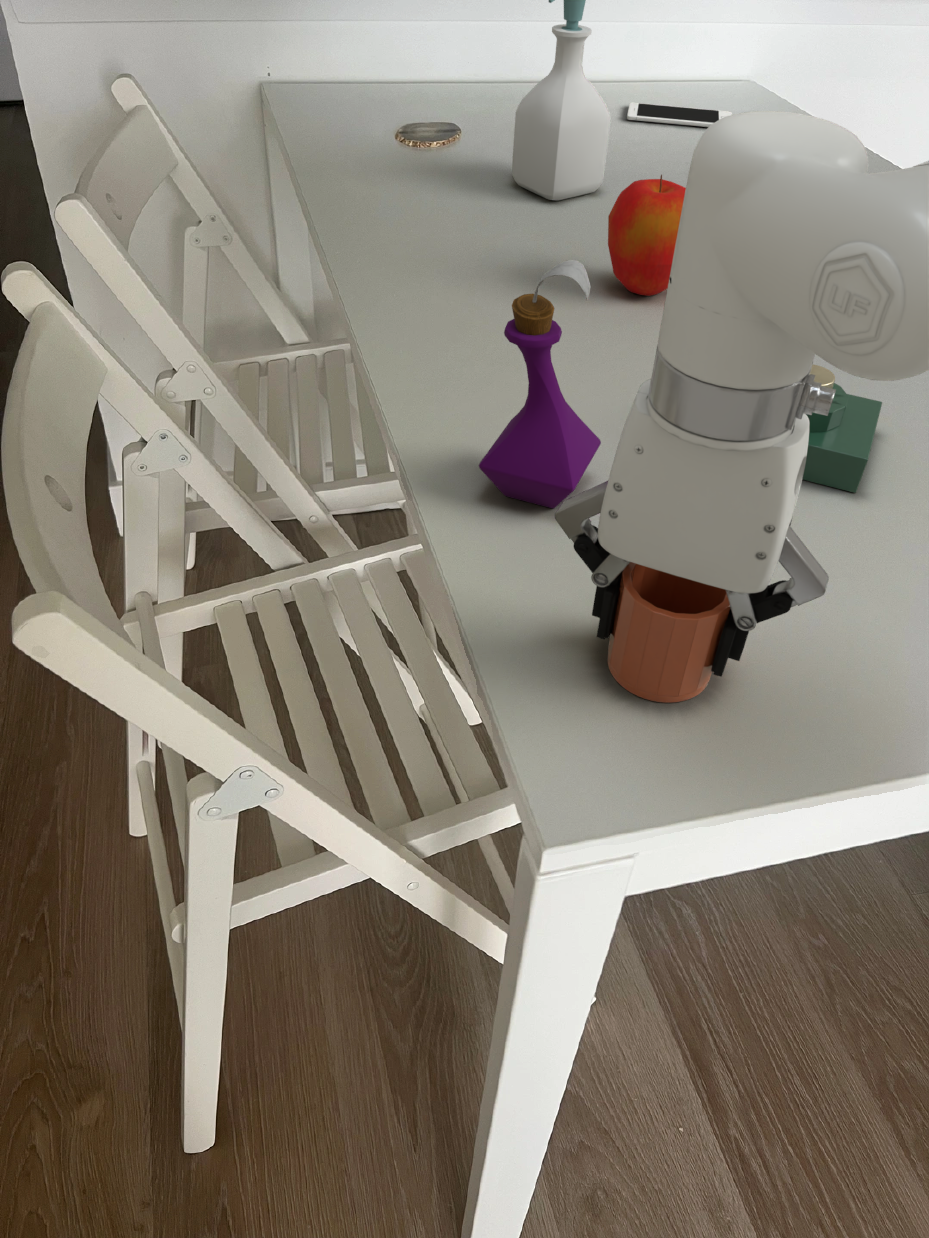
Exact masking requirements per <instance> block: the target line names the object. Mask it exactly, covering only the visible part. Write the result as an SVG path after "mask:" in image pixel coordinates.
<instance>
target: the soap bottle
mask: <svg viewBox="0 0 929 1238" xmlns="http://www.w3.org/2000/svg"><path fill="white" fill-rule="evenodd" d="M555 1H556V0H548V3H550V4H552V3H553V2H555ZM586 2H587V1H586V0H563V20H564V21H565V23H564V24H562V23H561V24H555V25H553V26H552V27H551V32H552V33H551V34H553V35H554V36H555V38H556V42H555V43H556V44H555V55H554V62H553V66H552V68H551V70H550V72H549V73H548V74H547V75H546V76H545V77H544V78H542V79H541V80H540V81H538V83H537V84H536V85H534V86H533V87H532V88H531V89H530V90H529V92H528V93H527V94H525V96H524V97H522V99H521V100H520V102H519V104H518V105H517V108H516V110H515V118H514V132H513V147H512V162H511V174H512V178H513V180H514V182H515V183H516V184H517V185H518V186H519V187H521V188H523V189H525V190H528V191H530V192H532V193H533V194H536V195H538V196H540V197H542V198H544V199H546V200H550V201H562V200H567V199H571V198H574V197H579V196H584V195H588V194H593V193H594V192H596V191H597V190H598V189H600V187H601V186H602V184H603V183H604V179H605V170H606V165H607V164H606V163H607V156H608V147H609V140H610V132H611V124H612V119H611V113H610V110H609V108H608V105H607V103H606V102H605V101H604V99H603V97H602V96H601V94H600V93H599V91H598V90H597V88H596V87H595V85H594V83H592V82H591V81H590V80H589V79H588V78H587V76H586V74H585V73H584V67H583V60H584V52H585V51H584V50H585V42H586V40H587V39H588V38H589V37H590V36H591V35H592V28H591V27H588V26H586V25H585V26H584V25H581V24H579V22H581V21H582V20H583V16H584V11H585V7H586Z"/></svg>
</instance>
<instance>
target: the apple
mask: <svg viewBox="0 0 929 1238" xmlns="http://www.w3.org/2000/svg"><path fill="white" fill-rule="evenodd" d="M685 190H686V186H682V185H681V184H678V183H676V182H673V181H670V180H667V179H663V174H660V178H648V179H647V178H646V179H638V180H634V181H632V183H630V184H629V185H628V186H626V187H625V188H624V189H623V190H622V191H621V192H620V193H619V195H618V196H617V198H616V200H615V202H614V203H613V206H612V208H611V210H610V212H609V214H608V218H607V219H608V220H607V222H608V223H607V246H608V252H609V257H610V262H611V268H612V272H613V273H612V274H613V275H614V277H615V278H616V279H617V280H618V281H619V282H620V283H621V284H622V285H623V286H624V288H625V289H626V290H627V291H629V292H630V293H632V294H637V295H640V296H647V297H648V296H649V297H650V296H656V295H658V294H660V293H662V292H664V291H665V290H667V289H668V283H669V278H670V272H671V267H672V261H673V256H674V250H675V245H676V239H677V234H678V228H679V223H680V217H681V212H682V207H683V201H684V196H685Z"/></svg>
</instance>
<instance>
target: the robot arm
mask: <svg viewBox="0 0 929 1238" xmlns="http://www.w3.org/2000/svg"><path fill="white" fill-rule="evenodd" d="M685 188H686V190H685V196H684V201H683V207H682V212H681V217H680V223H679V228H678V234H677V239H676V245H675V250H674V256H673V261H672V267H671V272H670V278H669V283H668V288H667V289H666V295H665V300H664V306H663V311H662V316H661V322H660V328H659V333H658V337H657V338H658V339H657V345H656V350H655V355H654V361H653V367H652V372H651V377H650V378H648V379H646V380H645V381H643V382H642V383H641V384H640V386H639V388H638V390H637V391H636V394H635V396H634V399H633V401H632V404H631V407H630V409H629V412H628V414H627V417H626V419H625V422H624V425H623V428H622V431H621V434H620V437H619V440H618V443H617V447H616V449H615V454H614V458H613V461H612V464H611V469H610V472H609V475H608V480H606V481H604V482H601V483H599V484H597V485H595V486H594V487H591V488H588V489H587V490H584V491H582V492H580V493H578V494H575V495H573V496H571V497H569V498H566V499H564V500H563V501H562V502H561V503H560V504H559V507H558V508H557V510H556V511H555V513H554V519H555V522H556V523H557V524H558V526H559V527H560V528H561V530H562V531H563V532H564V534H565V536H567V538H568V539H569V540H571V541H572V543H573V549H574V551H575V552H576V554H577V555H578V556H579V558H580V559H581V560H582V561H583V563H584V564H585V566H586V567H587V568H588V569H589V571H590V572H591V573H592V574H591V577H590V578H591V579H590V580H591V582H592V583H593V584H594V585H595V586H596V587H595V592H594V593H595V594H594V598H593V606H592V611H591V616H592V617H596V618H598V626H597V632H596V638H598V639H601V640H606V639H610V636H611V631H612V626H613V620H614V615H615V610H616V604H617V599H618V594H619V589H620V582H621V577H622V572H623V570H624V569H625V568H626V567H627V565H628V564H629V563H630V562H633V563H636V564H639V565H642V566H646V567H649V568H652V569H655V570H659V571H662V572H666V573H669V574H672V575H676V576H679V577H683V578H686V579H689V580H693V581H696V582H700V583H703V584H707V585H711V586H714V587H718V588H721V589H725V590H726V593H727V597H728V600H729V604H730V607H731V610H730V613H729V615H728V618H727V620H726V622H725V625H724V628H723V631H722V634H721V638H720V641H719V645H718V648H717V652H716V655H715V658H714V662H713V665H712V669H711V671H712V673H713V675H715V676H717V677H720V678H722V677H723V675H724V671H725V668H726V665H727V663H728V660H729V659H730V660H733V661H737V662H740V660H741V657H742V655H743V652H744V649H745V646H746V642H747V639H748V636H749V633H750V632H751V631H753V630H754V629H755V628H756V626H757V624H759V623H762V622H764V621H767V620H771V619H773V618H775V617H776V618H777V617H779V616H782V615H785V614H786V613H788V612H790V611H791V608H794V607H796V606H801V605H804V604H806V603H809V602H811V601H813V600H817V599H819V598H821V597H822V596H825V594H826V592H827V588H828V583H829V578H830V576H829V574H828V573H827V571H826V570H825V569H824V568H823V566H822V565H821V564H820V563H819V561H818V559H817V558H816V557H815V556H814V555H813V554H812V552H811V551H810V549H808V547H807V545H806V544H805V543H804V542H803V541H802V539H801V538H800V537H799V535H798V534H797V533H796V531H795V530H794V529H793V528H792V526H791V525H792V521H793V519H794V516H795V515H794V514H795V512H796V511H795V510H796V506H797V502H798V499H799V494H800V490H801V487H802V483H803V474H804V469H805V464H806V457H807V449H808V442H809V418H808V417H807V415H806V414H808V415H812V412H813V413H817V414H821V415H826V416H828V413H829V410H830V407H831V404H832V401H833V398H834V395H835V392H836V389H831V388H827V387H823V386H821V384H822V383H819V382H814V378H815V375H813V374H810V371H811V368H812V365H813V364H814V359H815V356H817V357H819V358H820V359H822V360H824V362H825V363H828V364H830V365H832V366H833V367H834V368H836V369H838V370H840V371H842V372H844V373H847V374H849V375H851V376H854V377H857V378H861V379H865V380H870V381H877V382H878V381H879V382H882V381H883V382H894V381H900V380H905V379H910V378H913V377H916V376H919V375H921V374H924V373H926V372H928V371H929V160H927V161H924V162H921V163H919V164H916V165H913V166H911V167H905V168H898V169H894V170H886V171H880V172H879V171H878V172H870V173H869V155H868V152H867V149H866V147H865V144H864V143H863V142H862V141H861V139H860V138H859V137H858V136H857V134H855V133H854V132H853V131H851V130H849V129H848V128H846V127H844V126H842V125H839V124H838V123H835V122H833V121H830V120H828V119H824V118H821V117H817V116H813V115H809V114H804V113H797V112H790V111H779V110H754V111H745V112H738V113H734V114H732V115H730V116H726V117H724V118H722V119H720V120H718V121H716V122H715V123H713V124H712V125H711V126H709V127H706V129H705V130H704V131H703V133H702V134H701V136H700V137H699V139H698V140H697V143H696V145H695V148H694V149H693V153H692V156H691V160H690V165H689V170H688V174H687V180H686V186H685ZM597 515H599V519H598V524H597V526H596V525H593V524H592V520H591V519H590V518H592V517H595V516H597ZM778 564H780V565H781V566H782V568H783V569H784V570H785V572H787V574H788V576H789V577H790V578H789V579H787V580H785V579H782V580H779V581H776V582H773V583H770V582H771V580H772V577H773V576H774V574H775V571H776V568H777V566H778Z"/></svg>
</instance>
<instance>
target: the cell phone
mask: <svg viewBox="0 0 929 1238" xmlns="http://www.w3.org/2000/svg"><path fill="white" fill-rule="evenodd" d="M730 115H733V113H732V111H730V110H721V109H708V108H700V107H699V108H698V107H688V106H677V105H666V104H665V105H664V104H656V103H655V104H654V103H645V102H629V104H628V109H627V114H626V119H627V120H628V121H639V122H649V123H661V124H672V125H682V126H694V127H704V128H708V127H709V126H711V125H712V124H713V123H715V122H716V121H718V120H720V119H722V118H724V117H726V116H730Z"/></svg>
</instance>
